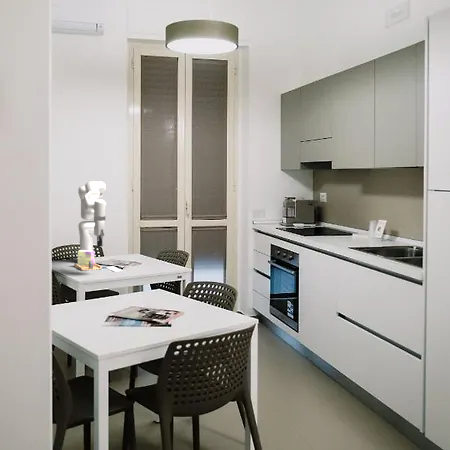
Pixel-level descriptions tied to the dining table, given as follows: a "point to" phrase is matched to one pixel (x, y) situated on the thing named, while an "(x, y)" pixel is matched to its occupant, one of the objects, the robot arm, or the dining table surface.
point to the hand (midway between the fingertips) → (99, 246)
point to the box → (85, 257)
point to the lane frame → (89, 266)
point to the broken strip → (114, 269)
